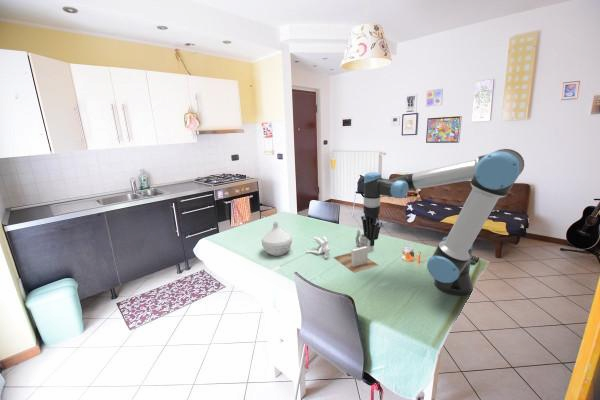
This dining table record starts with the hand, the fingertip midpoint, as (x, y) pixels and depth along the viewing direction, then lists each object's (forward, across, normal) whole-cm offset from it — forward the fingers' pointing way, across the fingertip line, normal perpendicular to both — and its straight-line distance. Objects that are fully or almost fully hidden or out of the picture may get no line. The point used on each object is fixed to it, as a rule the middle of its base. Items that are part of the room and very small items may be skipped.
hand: (370, 251), depth 138 cm
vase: (+13, +48, +32) cm, 59 cm away
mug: (+13, +24, -14) cm, 30 cm away
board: (+13, +12, 0) cm, 18 cm away
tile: (+11, +8, 0) cm, 14 cm away
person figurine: (+13, +31, +10) cm, 35 cm away
